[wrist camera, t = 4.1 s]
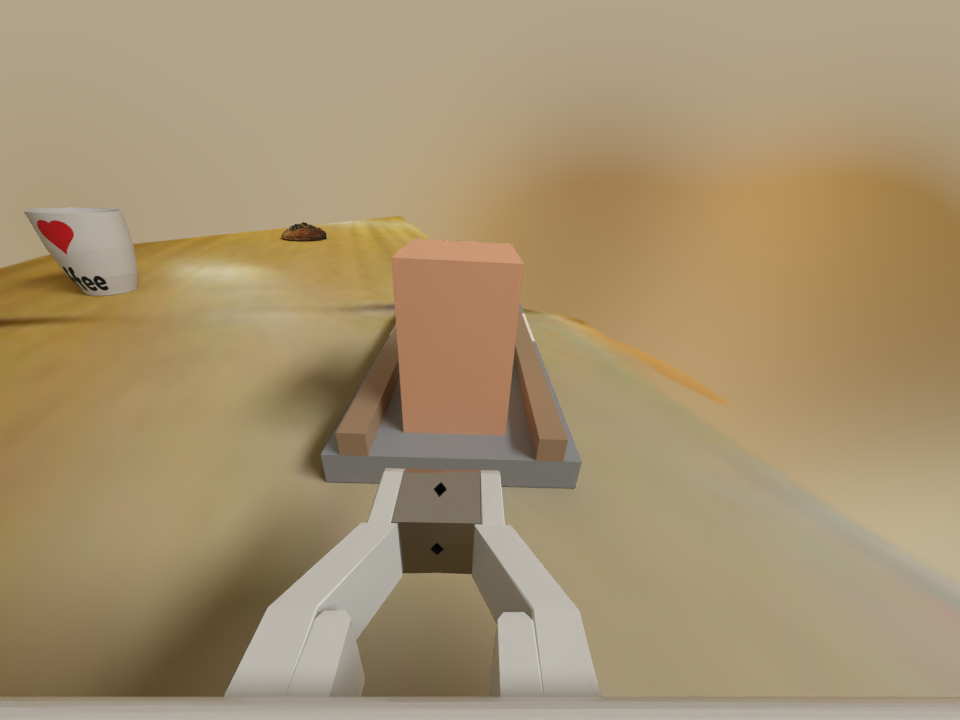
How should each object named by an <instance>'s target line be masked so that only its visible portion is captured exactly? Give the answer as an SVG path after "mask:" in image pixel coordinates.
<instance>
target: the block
mask: <svg viewBox="0 0 960 720" xmlns="http://www.w3.org/2000/svg"><path fill="white" fill-rule="evenodd" d="M523 266H524V263H523V262H522V260H521V258H520V257H519V255H518V254H517V252H516V251H515V249H514V247H513V246H512V244H507V243H486V242H467V241H446V240H427V239H412V240H411V241H410V242H409V243H408V244H407V245H405V246H404V247H403V248H402V249H401V250H400V251H399V252H397V253H396V254H395V255H394V256H393V257H392V272H393V286H394V301H395V315H396V329H397V344H398V358H399V373H400V387H401V402H402V416H403V431H404V433H437V434H470V435H503V436H505V435H506V426H507V417H508V407H509V398H510V389H511V379H512V370H513V361H514V351H515V342H516V333H517V323H518V314H519V305H520V295H521V285H522V277H523V276H522V275H523Z"/></svg>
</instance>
